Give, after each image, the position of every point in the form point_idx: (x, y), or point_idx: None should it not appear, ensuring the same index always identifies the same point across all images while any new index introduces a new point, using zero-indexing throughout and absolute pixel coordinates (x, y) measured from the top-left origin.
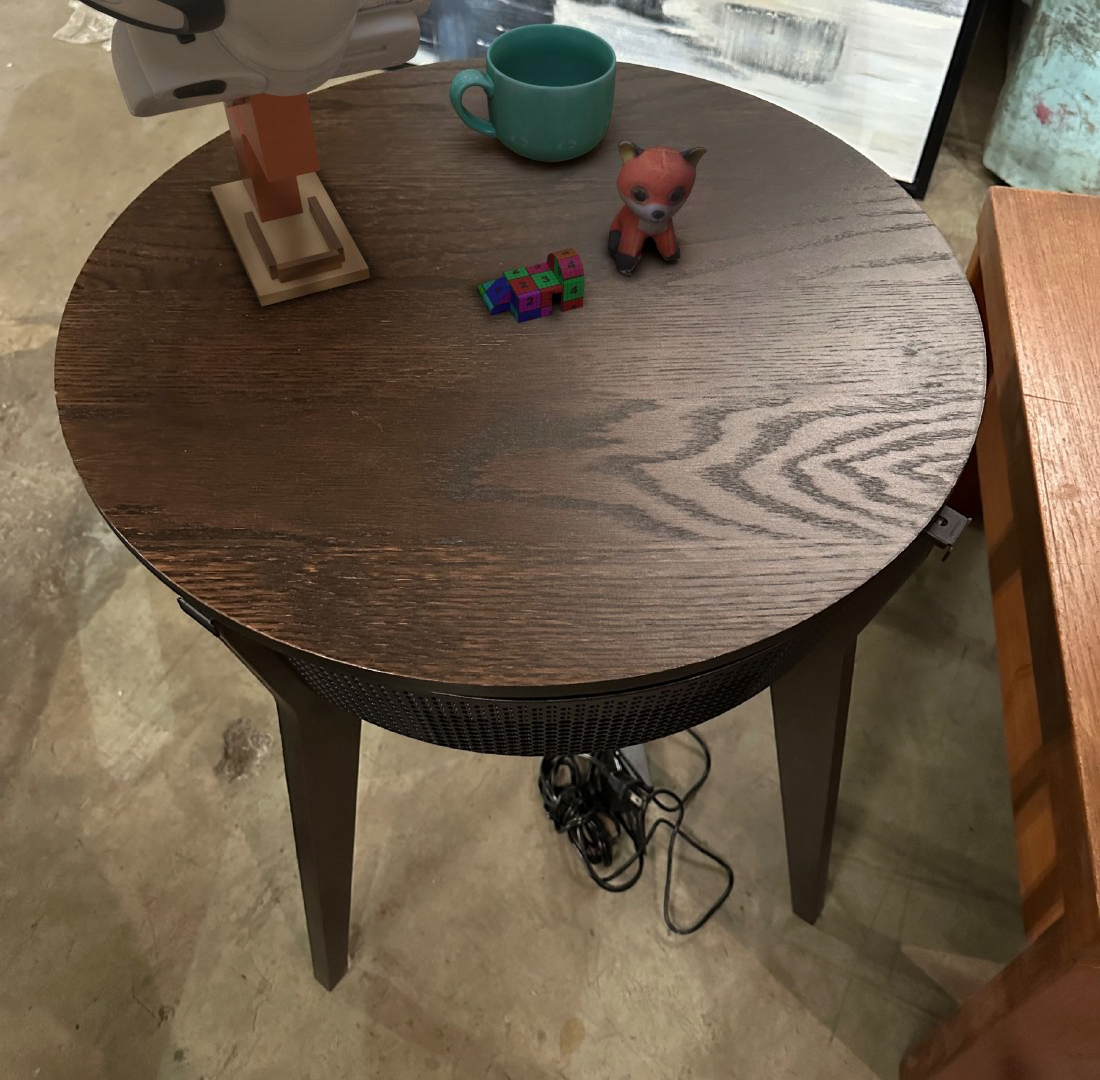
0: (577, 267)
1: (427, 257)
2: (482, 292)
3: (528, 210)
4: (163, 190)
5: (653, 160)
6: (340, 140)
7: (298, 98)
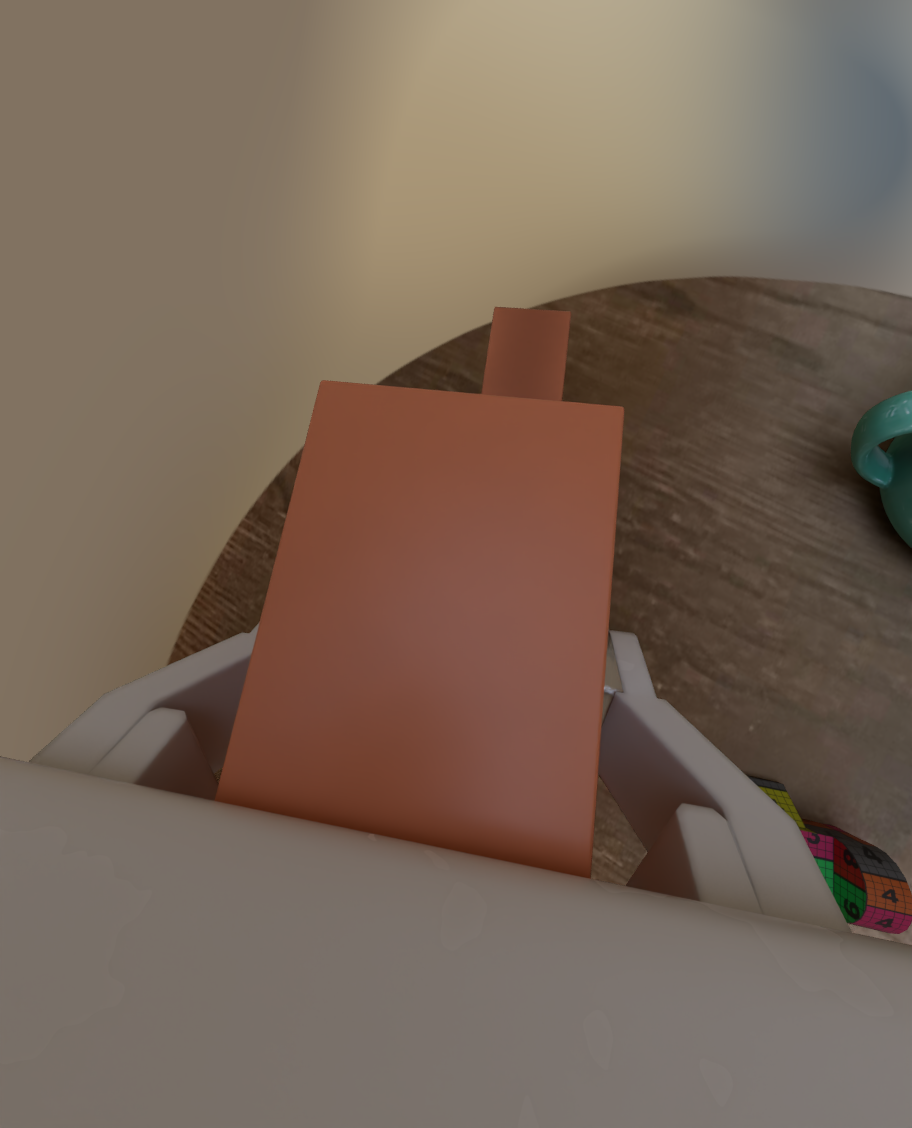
0: (891, 928)
1: (655, 656)
2: None
3: (845, 636)
4: (409, 369)
5: None
6: (648, 368)
7: None
